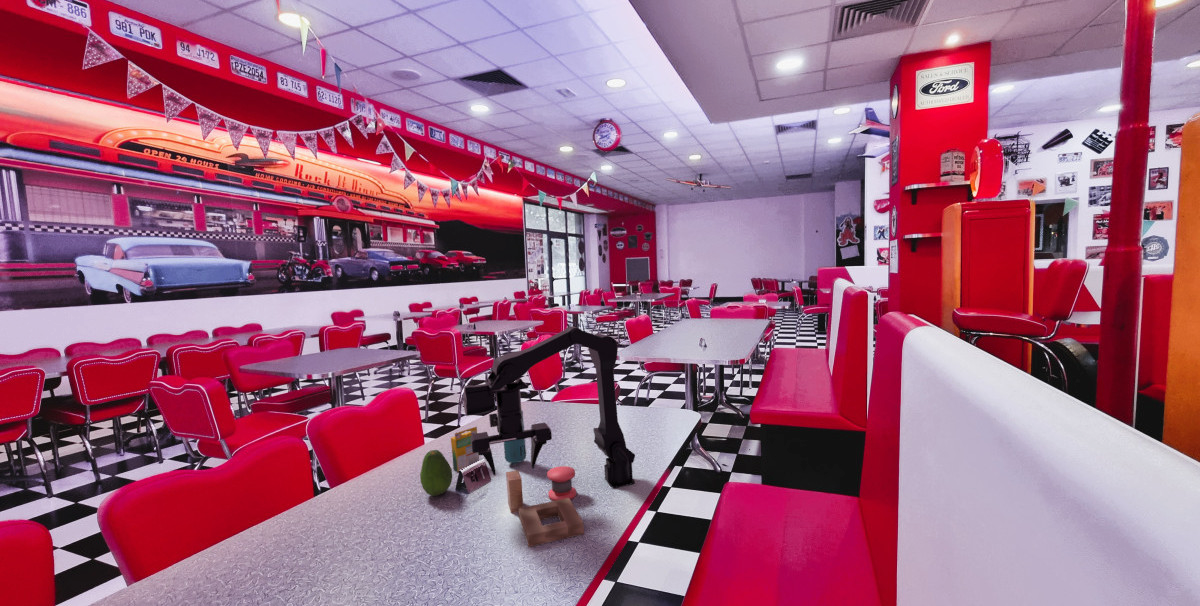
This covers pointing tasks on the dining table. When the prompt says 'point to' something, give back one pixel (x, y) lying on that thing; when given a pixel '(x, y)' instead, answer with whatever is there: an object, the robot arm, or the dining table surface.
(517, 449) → the beverage bottle
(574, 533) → the board with rectangular hole
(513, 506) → the reddish brown block
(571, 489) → the spool
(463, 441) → the crayon box
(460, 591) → the dining table surface
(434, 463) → the avocado
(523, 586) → the dining table surface
